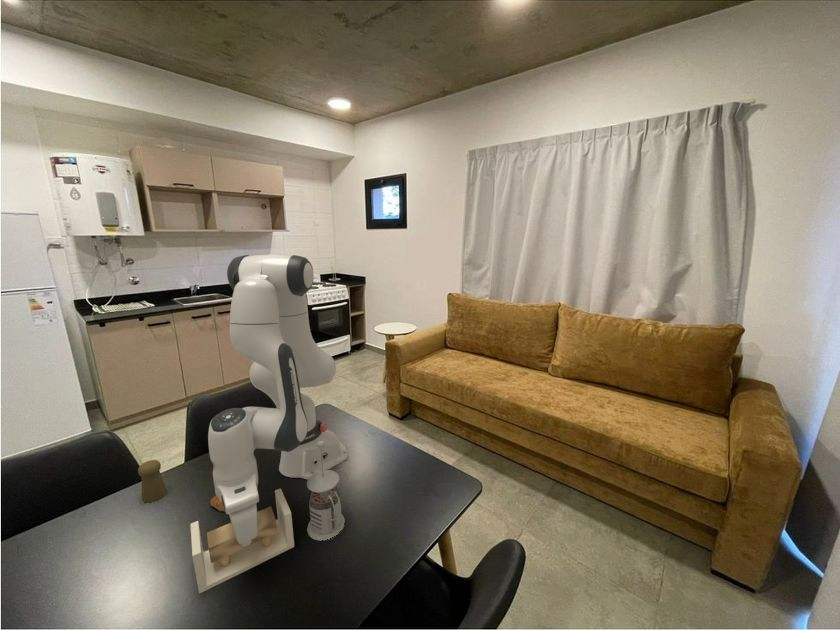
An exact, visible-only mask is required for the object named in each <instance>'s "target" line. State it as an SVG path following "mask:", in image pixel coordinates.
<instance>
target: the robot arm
mask: <svg viewBox="0 0 840 630" xmlns="http://www.w3.org/2000/svg"><path fill="white" fill-rule="evenodd" d="M226 277H227V282H228V284H229V285H230V287H231V289H232V290H233V293H232V296H231V297H232V298H231V302H230V303H231V304H230V312H229V339H230V343H231V346H232V348H233V349H234V351H236V353H238V355H240V356H241V357H243V358H245V359H246V360H248V361H251V362H253V363H252V364H251V366H250V368H249V381H250V382H251V384H252V385H253V386H254V388H256V389H258V390H260V391H261V392H263V393H265V395H267V396H268V397H269V398H270V399H271V400H272V401H273V404H274V405H275V406H276V407H275V408H274V407H263V406H243V407H241V408H240V407H231V408H228V409H225V410H223V411H221V412H219V413H218V414H216V415H214V417H213V418H212V419H211V421H210V422H209V427H208V434H207V439H208V440H207V441H208V443H207V444H208V452H209V458H210V459H209V460H210V461H211V463H212V465H213V468H212V479H213V485H214V493H215V496H216V495H217V497H219V499H220V500H221V502H222V504H223V506H224V509H225V511H226V512H225V515H229V519H230V523H232V526H233V529H234V533H235V536H236V539H237V542H238V543H239V544H242V546H243V547H246V546H248V545H250V544H251V540H252V539H254V538H255V537H256V535H257V512H258V507H257V503H259V502H260V495H259V489H258V485H259V472H258V471H259V470H258V464H257V458H256V457H255V455H254V451H256V449H266V450H275V451H281V453H280V462H279V464H278V465H279V466H278V471H279V472H280V474H281V475H283V476H285V477H287V478H288V477H289V478H297V479H298V478H299V479H300V478H301V479H304V480H308V479H309V478H310V476H312V475H313V474H314V473H316V472H319V471H322V461H323V470H331V469H332V468H334V467H335V466H338V465H339V464H340V463H343V462H344V461H345V462H346V460H348V457H349V453H348V449H347V448H346V446H345V444H344V443H343V442H341V441H340V440H339V439H338V438H339V437H338V436H337V435H336V434H335V433H334V432H333V431H331V430H330V429H328V427H327V426H326V425H325V424H324V423H322V421H321V420H319V418H317V417H316V404H315V402H314V400H313V399H312V398H311V397H310V396H309V395H307V394H304V393H302V392H301V389H304V388H316V387H320V386H323V385H327V384H330V383H331V382H332V381H333V380H334V378H335V375H336V371H337V365H336V362H335V360H334V358H333V356H331V354H330V353H327V352H325V350H323V349H321V347H320V346H319V345H318V344H317V343H316V342H315V340H314V338H313V335H312V332H311V327H310V319H309V310H308V309H309V308H308V301H307V300H308V299H307V296H306V293H308V292H309V291H310V290H311V289H312V287H313V284H314V277H315V276H314V267H313V264H312V263H311V261H309V259H308V258H306V257H305V256H301V255H296V254H294V255H293V254H292V255H289V254H287V255H286V254H279V253H269V254H255V255H249V254H245V255H239V256H236V257H234V258H233V259H232V260H231V262H230V263H229V264H228V265H227V270H226ZM319 441H324V443H325V446H324V447H322V461H321V448H318V447H317V443H318V442H319Z"/></svg>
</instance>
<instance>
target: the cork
mask: <svg viewBox="0 0 840 630" xmlns="http://www.w3.org/2000/svg"><path fill="white" fill-rule="evenodd" d="M161 466H162V464H161V462H160V461H159V459H158V460H157V459H151V460H147V461H144V462H143V463H142V464H140V465H139V467H138V469H137V473H138V475H139V477H140V478H141V502H142V501H143V502H144V503H143V502H142V503H143V504H146V503H149V504H153V503H156V502H159V501H160V500H162V499H163V498H164V497H166V496H167V494H168V489H167V486H166V484H165V481H164V479H163V476H162V473H161V472H160V470H161ZM155 501H156V502H155ZM152 502H153V503H152Z"/></svg>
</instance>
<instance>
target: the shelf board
mask: <svg viewBox="0 0 840 630" xmlns="http://www.w3.org/2000/svg"><path fill="white" fill-rule="evenodd" d="M276 520H277V518H276V517H275V514H274V510H273V508H272V506H271V505H270V506H268V507H266V508H263V509H261V510H257V535H256V537H255V538H254V539H252V540H251V544H250V545H252V544H254V543H256V542H258V541H260V540H263V539H265V538H267V537H269V536H271V535H273V534H276V533H277V527H276ZM206 536H207V537H206V538H207V545H208V550H209V554H210V560H211V563H213V562H215V561H217V560H219V559H221V558H223V557H226V556H228V555H230V554H232V553H234V552H237V551H239V550H241V549H243V548H245V547H243V546H242V544H239V543H238V542H237V539H236V536H235V533H234V529H233V526H232V522H229V523H227V524H224V525H222V526H219V527H218V528H214V529H213V530H210V531H208V532H206ZM250 545H248V546H250ZM246 547H247V546H246Z"/></svg>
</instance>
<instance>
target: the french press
mask: <svg viewBox="0 0 840 630" xmlns="http://www.w3.org/2000/svg"><path fill="white" fill-rule="evenodd" d="M324 446H325V443H324V441H319V442H318V443H317V447H318V448H321V461H322V447H324ZM339 481H340V476H339V474H338V473H337V471H335V470H331V469H328V470H323V461H322V471H319V472H316V473H314V474H313V475H312V476H310V478H309V479H307V481H306V487H307V489H308V490H310V491H311V492H310V495H309V501H308V507H309V508H308V509H309V517H310V519H309V522H308V524H307V528H306V531H307V534H308V536H309V537H310V538H311V539H313V540H314V541H315V540H316V541H319V542H322V540H323V541H328V540H331V539H333V538H335V537H336V535H339V534H340V533H341V532H342V531H343V530H344V527H345V525H344V523H346V522H345V521H346V518H345V517H344V515H343V514H342V505H341V499H340V498H341V496H340V493H339V489H338V487H337V484H338V483H339ZM341 530H342V531H341ZM340 531H341V532H340ZM339 532H340V533H339ZM334 536H335V537H334ZM332 537H333V538H332ZM330 538H331V539H330ZM327 539H328V540H327Z"/></svg>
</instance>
